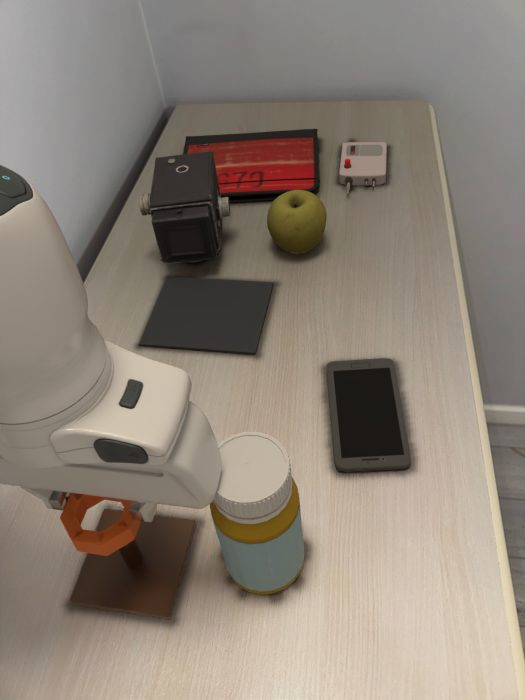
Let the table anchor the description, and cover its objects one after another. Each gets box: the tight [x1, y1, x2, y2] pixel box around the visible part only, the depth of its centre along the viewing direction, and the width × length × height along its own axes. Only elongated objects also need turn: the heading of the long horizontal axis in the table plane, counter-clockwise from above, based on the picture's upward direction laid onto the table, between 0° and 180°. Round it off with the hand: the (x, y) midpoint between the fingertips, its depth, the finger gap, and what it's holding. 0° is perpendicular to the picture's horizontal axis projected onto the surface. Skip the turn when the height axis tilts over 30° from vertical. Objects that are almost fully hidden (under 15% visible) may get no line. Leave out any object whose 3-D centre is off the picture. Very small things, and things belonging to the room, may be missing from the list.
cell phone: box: [326, 357, 412, 473], centre depth 69 cm, size 7×14×1 cm, turn 0°
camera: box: [138, 151, 231, 264], centre depth 87 cm, size 11×11×15 cm
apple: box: [266, 190, 328, 254], centre depth 87 cm, size 8×8×7 cm
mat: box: [138, 276, 275, 356], centre depth 82 cm, size 14×12×1 cm
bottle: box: [209, 431, 306, 595], centre depth 54 cm, size 7×7×15 cm
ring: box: [59, 493, 141, 556], centre depth 53 cm, size 6×6×2 cm
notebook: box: [182, 128, 321, 204], centre depth 102 cm, size 16×2×21 cm
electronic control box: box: [338, 141, 388, 196], centre depth 99 cm, size 7×16×3 cm, turn 172°
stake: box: [68, 508, 197, 621], centre depth 59 cm, size 9×9×5 cm
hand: (103, 507), depth 53 cm, fingers closed on ring, 6 cm apart
